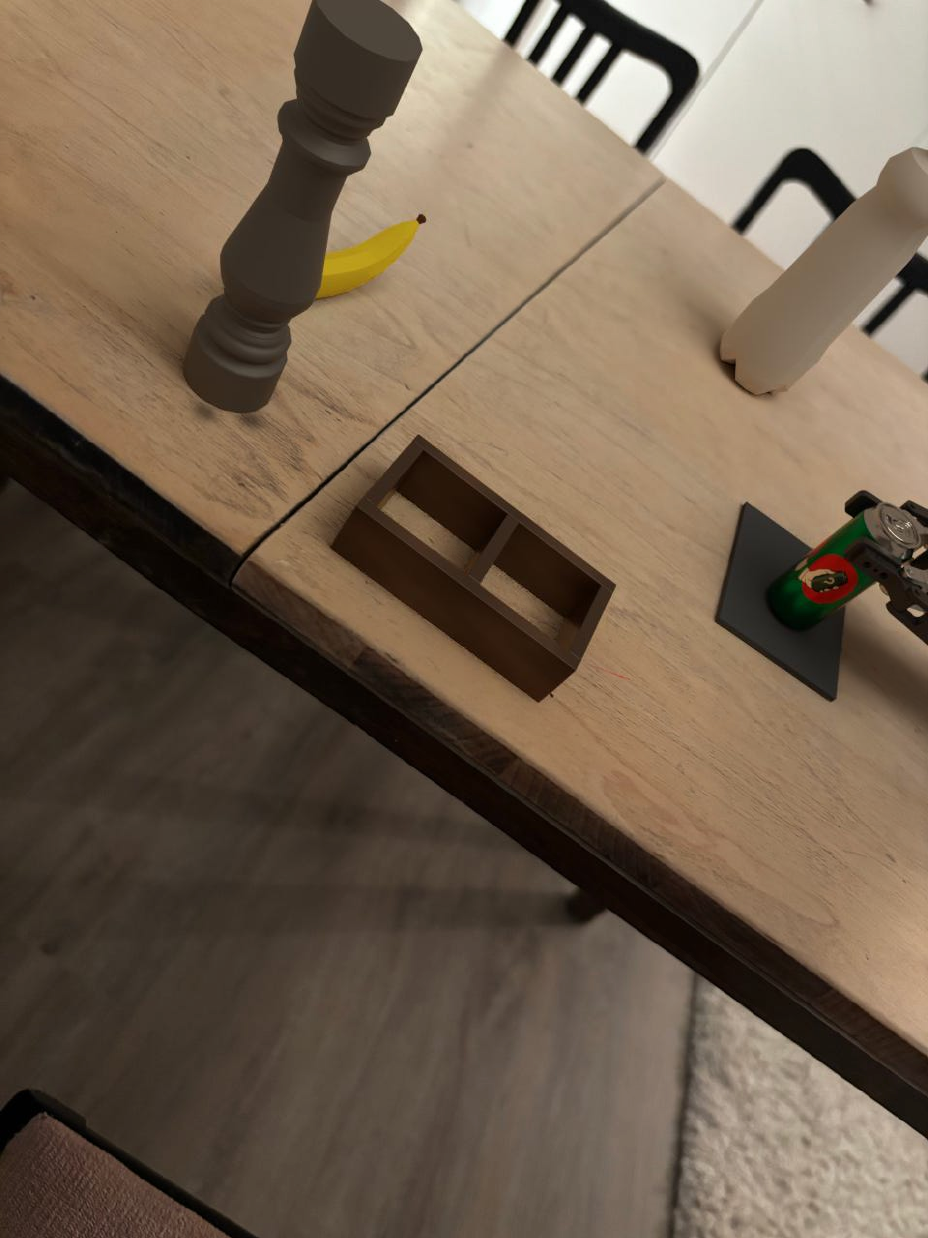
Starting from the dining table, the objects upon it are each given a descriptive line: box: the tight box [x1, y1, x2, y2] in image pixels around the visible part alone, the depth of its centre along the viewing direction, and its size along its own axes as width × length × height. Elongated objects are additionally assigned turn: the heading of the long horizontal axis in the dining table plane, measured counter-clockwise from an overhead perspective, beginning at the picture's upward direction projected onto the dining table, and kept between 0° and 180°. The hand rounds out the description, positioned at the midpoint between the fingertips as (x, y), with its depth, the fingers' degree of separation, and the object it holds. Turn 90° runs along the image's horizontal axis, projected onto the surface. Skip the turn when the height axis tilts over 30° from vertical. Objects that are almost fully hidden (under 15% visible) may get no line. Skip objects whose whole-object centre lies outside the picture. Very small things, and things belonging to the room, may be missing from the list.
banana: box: [315, 213, 427, 299], centre depth 71 cm, size 3×19×6 cm, turn 134°
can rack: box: [329, 433, 617, 703], centre depth 63 cm, size 17×9×4 cm, turn 64°
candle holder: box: [182, 0, 424, 414], centre depth 55 cm, size 6×6×25 cm
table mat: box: [715, 501, 847, 703], centre depth 81 cm, size 16×12×1 cm
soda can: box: [768, 501, 921, 630], centre depth 76 cm, size 5×5×12 cm
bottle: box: [719, 146, 928, 396], centre depth 89 cm, size 9×9×30 cm
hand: (852, 522), depth 72 cm, fingers closed on soda can, 5 cm apart
